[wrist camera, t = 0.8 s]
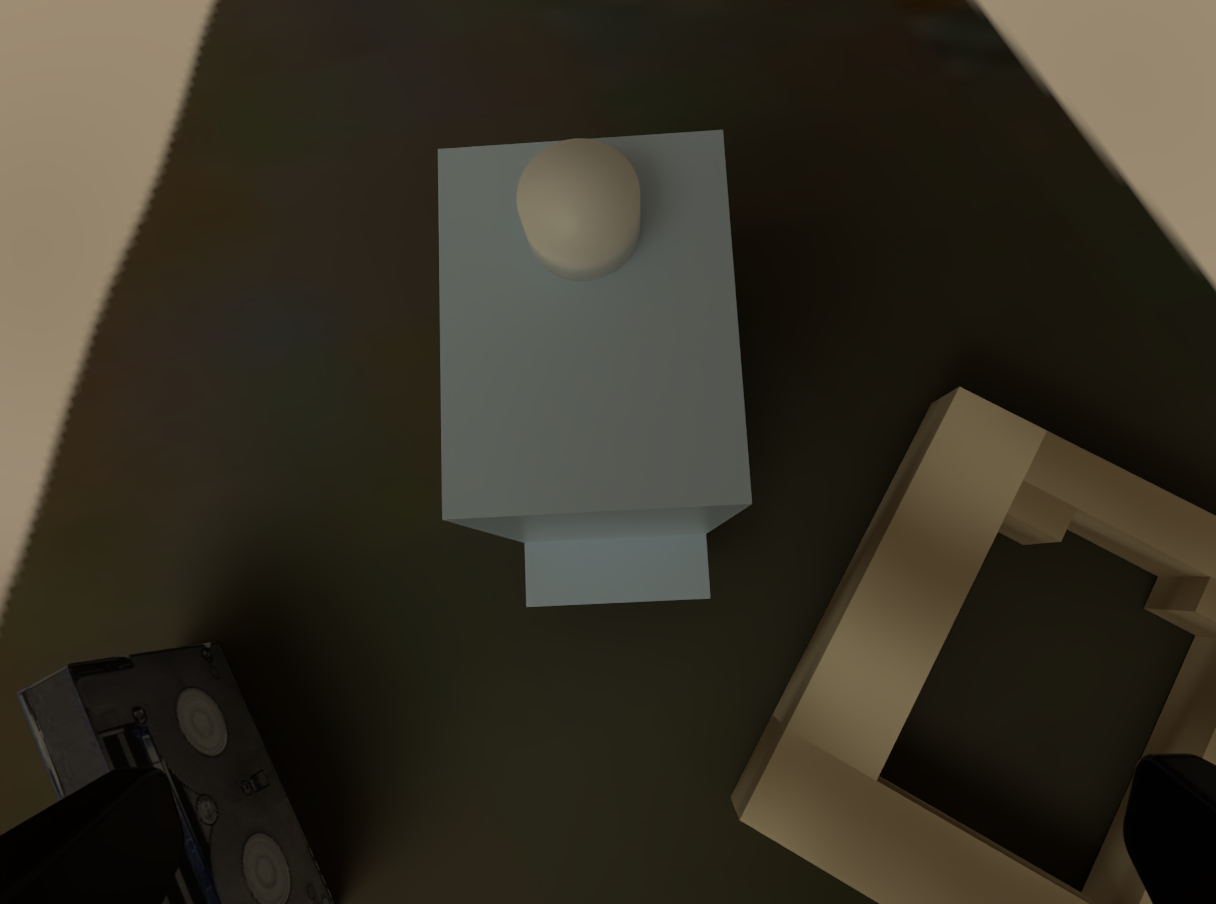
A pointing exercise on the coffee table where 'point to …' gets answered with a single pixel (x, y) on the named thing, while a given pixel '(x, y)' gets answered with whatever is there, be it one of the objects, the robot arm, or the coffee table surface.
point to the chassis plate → (914, 633)
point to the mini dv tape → (182, 767)
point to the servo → (592, 360)
